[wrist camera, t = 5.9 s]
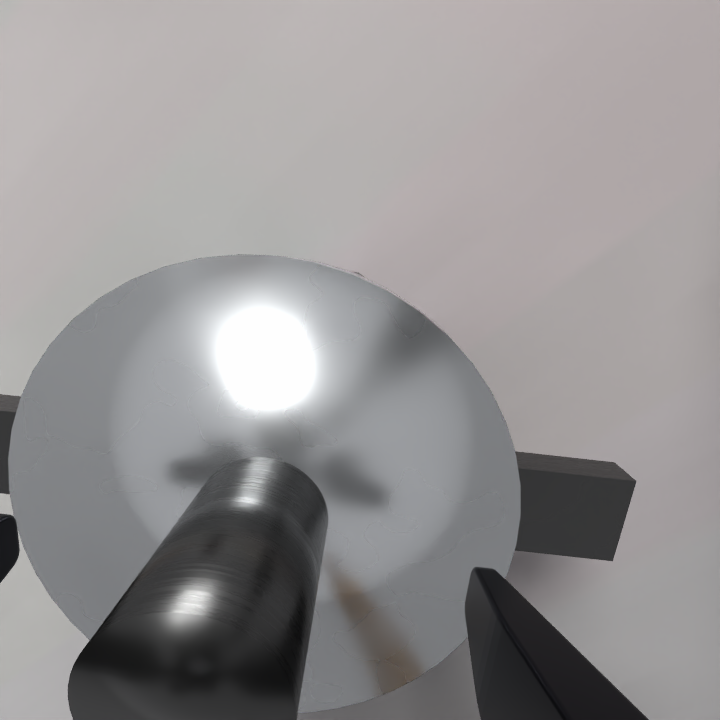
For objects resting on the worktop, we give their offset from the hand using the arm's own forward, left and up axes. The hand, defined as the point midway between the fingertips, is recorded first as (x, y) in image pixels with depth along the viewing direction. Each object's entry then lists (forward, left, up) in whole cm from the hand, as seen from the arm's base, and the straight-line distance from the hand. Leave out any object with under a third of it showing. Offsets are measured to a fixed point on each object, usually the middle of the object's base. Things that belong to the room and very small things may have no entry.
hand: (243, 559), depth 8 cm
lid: (0, 0, -2) cm, 2 cm away
